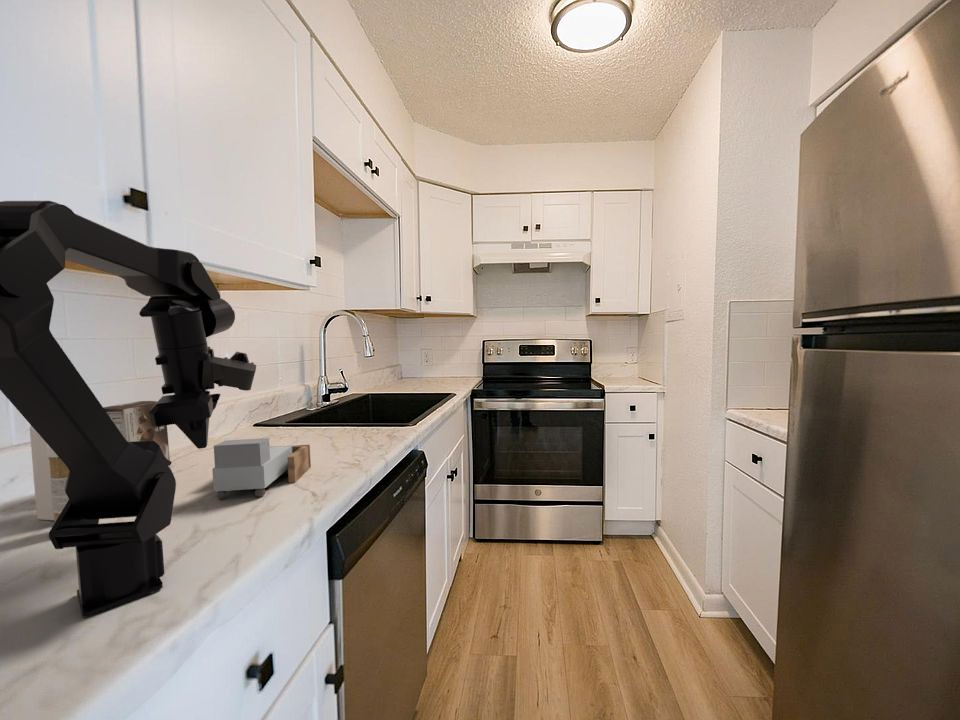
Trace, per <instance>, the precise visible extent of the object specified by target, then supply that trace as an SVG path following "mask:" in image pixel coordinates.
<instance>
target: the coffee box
mask: <svg viewBox="0 0 960 720" xmlns="http://www.w3.org/2000/svg"><path fill="white" fill-rule="evenodd" d="M157 402H158V401H156V400H140V401H134V402H127V403H122V404H114V405H108V406H104V407H103V406H102V407H103V408H104V409H105V411H106V412H107V414H108V415H109V417H110V418H112V421H113V422H114V424H115V425H116V427H117V428H118V429H119V431H120V432H121V434H122V435H123V437H124V438H125V439H126V440H127V441H128V442H134V441H155V442H156V443H157V444H158V445H159V446H160V448H161V450H162V452H163V454H164V456H165V457H166V458H167V459H168V460H169V461H171V455H170V446H169V445H170V444H169V435H168V433H169V432H168V425H165V426H159V427H154V426H152V424H151V419H150V415H149V411H150V410H151V409H152V408H153V406H154V405H155V404H156V403H157ZM169 468H170V469H171V465H169ZM171 470H172V469H171Z"/></svg>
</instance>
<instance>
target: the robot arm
mask: <svg viewBox="0 0 960 720" xmlns="http://www.w3.org/2000/svg"><path fill="white" fill-rule="evenodd" d="M66 261H67V262H71V263H74V264H78V265H81V266H84V267H87V268H90V269H95V270H97V271H99V272H103V273H106V274H110V275H112V276H113V275H114V276H117V277H118V278H121V279H123V280H124V282H125V285H126V286H127V287H128V288H129V289H132V290H134V291H135V292H137V293H139V294H141V295H143V296H146V297H149V299H148V302H147V303H146V304H145V305H144V306H142V308H141V309H140V311H139V316H140V317H141V318H150V319H151V324H152V328H153V329H152V330H153V334H154V338H155V343H156V347H157V353H158V355H156V356H155V358H154V360H155V365H156V366H160V368H161V372H162V376H163V382H164V384H163V385H162V386H161V392H162V397H160V399H158V401H156V402H157V403H156V404H155V405H154V406H153V408H152V409H151V410H150V411H149V415H150V419H151V424H152V426H154V427H159V426H165V425H167V426H171V425H175V426H177V428H178V429H179V430H180V431H181V432H182V433H183V434H184V435H185V436H186V437H187V439H188V440H189V441H190V442H191V443H192V444H193V446H195V447H196V449H199V450H201V449H205V448H207V446H208V440H209V439H208V438H209V426H210V418H211V417H212V415H213V412H214V410H215V409H216V407H217V405H218V401H219V400H220V397H221V393H212V394H211V391H209V390H214V389H215V388H216V386H215V385H217V386H218V387H223V386H224V387H229V388H235V389H238V390H240V391H247V392H248V391H251V390H252V386H253V382H254V378H255V374H256V370H257V364H255V363H254V362H250V360H249V357H248V354H247V353H245V352H240V351H236V352H235V353H234V354H232V356H231V357H229V358H228V357H226V356H225V357H218V356H215V351H214V349H213V348H211V346H208V342H207V338H209V337H212V336H214V335H216V334H220V333H223V332H226V331H227V330H229V329H230V328H232V326H233V325H234V323H235V320H236V312H235V310H234V309H233V307H232V305H231V304H229V302H228V301H226V300H225V299H223V298H221V294H220V292H219V291H218V289H217V287H216V285H215V284H214V282H213V280H212V278H211V277H210V274H209V273H208V272H207V270H206V268H205V266H204V265H203V264H202V262H200V260H199V258H198V257H197V256H196V255H195V254H193V253H192V252H189V251H186V250H185V251H184V250H180V249H172V248H161V247H153V246H149V245H147V244H144V243H142V242H140V241H139V240H137V239H136V240H135V239H134V238H131V237H129V236H127V235H125V234H122V233H120V232H117V231H115V230H114V229H113V230H112V229H111V228H108V227H107V226H104V225H102V224H100V223H97V222H96V221H92V220H90V219H88V218H86V217H83V216H82V215H79V214H78V213H75V212H74V211H73V209H72V208H70V207H68V206H66V205H65V204H61V203H59V202H55V201H52V200H1V201H0V392H1V393H3V395H4V396H5V397H6V398H7V399H8V401H9V402H10V403H11V404H12V405H13V407H15V408H16V410H17V411H18V412H19V413H20V414H21V416H22V417H23V418H24V419H25V420H26V421H27V422H28V423H29V425H30V426H32V427H33V428H34V429H35V430H36V432H37V433H38V434H39V435H40V436H41V437H42V438H43V440H44V441H45V442H46V443H47V444H48V445H49V446H50V448H51V449H52V450H53V451H54V452H55V453H56V454H57V456H58V457H59V458H60V459H61V460H62V461H63V462H64V464H65V465H66V466H67V467H68V469H69V472H68V476H67V481H66V485H65V493H66V494H67V496H68V498H69V500H68V502H67V504H66V505H65V507H64V509H63V510H62V512H61V513H60V515H59V517H58V518H57V520H56V522H55V521H54V523H53V525H52V527H51V528H50V530H49V532H48V535H47V536H48V537H49V539H50V540H49V541H50V542H51V544H52V546H53V548H54V549H55V550H63V549H67V548H75V556H76V566H77V582H78V589H77V590H76V596H77V600H78V605H79V609H80V615H81V617H82V618H85V617H89V616H92V615H95V614H97V613H100V612H103V611H105V610H107V609H111V608H113V607H116V606H119V605H121V604H125V603H126V602H129V601H132V600H135V599H138V598H140V597H143V596H145V595H148V594H151V593H154V592H156V591H159V590H162V589H163V585H164V584H163V581H162V579H161V577H164V575H165V563H164V560H165V559H164V548H163V540H162V539H161V537H160V536H159V535H158V534H159V533H160V532H161V531H163V530H164V529H166V528H167V527H169V526H170V525H171V523H172V515H173V509H174V503H175V502H174V501H175V496H176V489H177V481H176V478H175V475H174V473H173V471H172V469H170V468H171V467H170V468H169V465H170V466H171V465H172V460H170V461H169V460H168V459H167V458H166V457H165V456H164V454H163V452H162V450H161V448H160V446H159V445H158V444H157V443H156V442H155V441H134V442H128V441H127V440H126V439H125V438H124V437H123V435H122V434H121V432H120V431H119V429H118V428H117V427H116V425H115V424H114V422H113V421H112V419H111V418H110V417H109V415H108V414H107V412H106V411H105V409H104V408H103V405H102V404H101V403H100V400H98V398H97V397H96V395H95V394H94V392H93V390H92V389H91V388H90V387H89V385H88V384H87V383H86V381H85V380H84V378H83V377H82V376H81V374H80V372H79V371H78V370H77V368H76V367H75V365H74V363H73V362H72V360H70V357H68V355H67V354H66V352H65V351H64V349H63V348H62V346H61V345H60V343H59V342H58V341H57V340H56V338H55V337H54V335H53V334H52V332H51V330H50V325H51V321H52V314H53V309H54V308H53V307H54V305H55V304H54V303H55V298H54V295H53V294H52V291H51V289H50V287H49V285H48V283H49V282H50V281H51V280H52V279H54V278H55V277H56V276H57V275H58V274H60V273H61V272H62V271H63V270H65V268H66ZM121 518H122V519H123V518H135V519H134V521H133V520H132V521H120V522H119V521H118V522H116V521H115V522H105V523H99V522H100V520H107V519H121Z"/></svg>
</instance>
